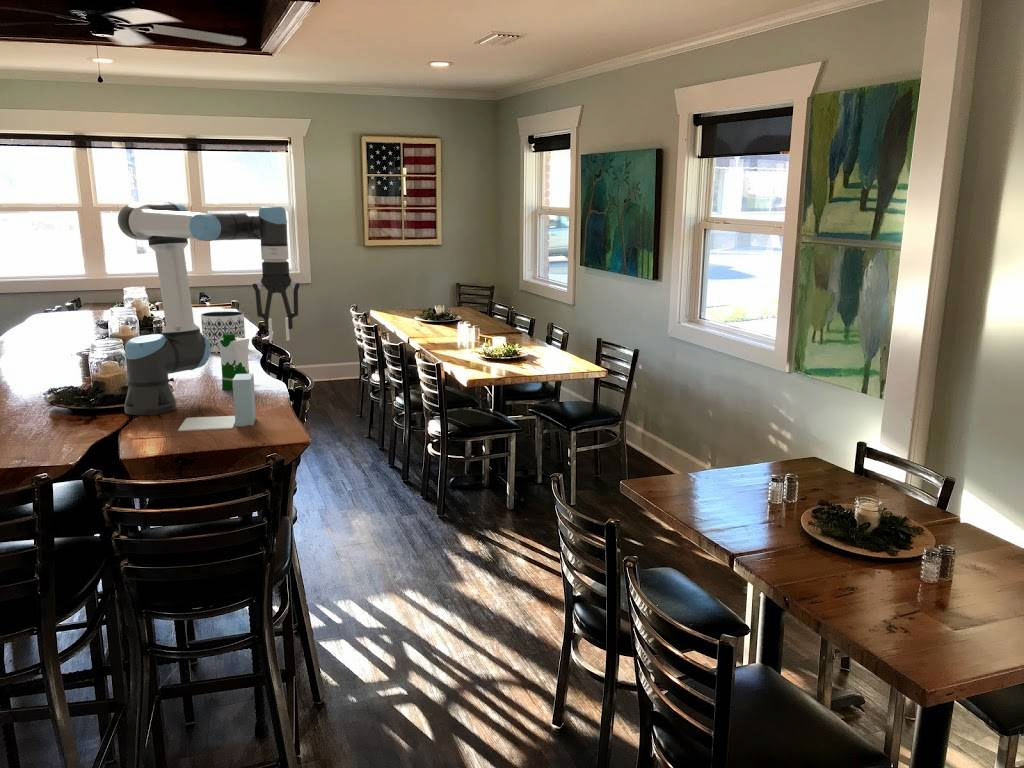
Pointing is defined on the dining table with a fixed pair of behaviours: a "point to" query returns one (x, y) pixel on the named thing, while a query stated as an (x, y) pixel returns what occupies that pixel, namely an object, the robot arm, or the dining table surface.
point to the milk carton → (233, 358)
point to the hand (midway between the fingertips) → (279, 340)
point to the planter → (222, 326)
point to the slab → (244, 399)
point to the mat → (208, 423)
